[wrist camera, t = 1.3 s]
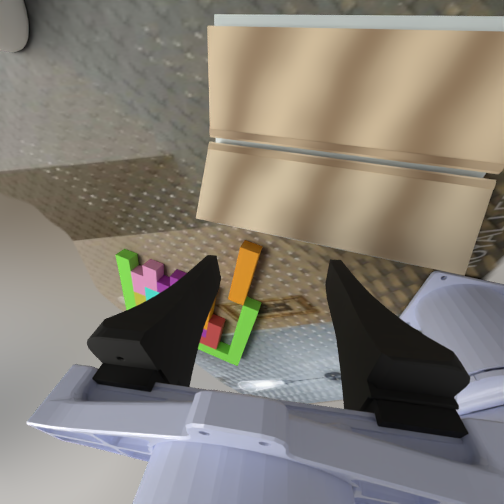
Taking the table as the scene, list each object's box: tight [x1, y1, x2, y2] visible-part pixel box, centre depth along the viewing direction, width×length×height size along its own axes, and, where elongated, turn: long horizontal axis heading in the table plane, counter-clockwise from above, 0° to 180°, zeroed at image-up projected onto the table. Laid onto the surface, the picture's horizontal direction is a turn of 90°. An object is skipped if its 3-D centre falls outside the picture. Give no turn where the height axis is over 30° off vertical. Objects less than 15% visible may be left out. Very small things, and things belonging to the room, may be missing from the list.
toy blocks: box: [116, 240, 263, 366], centre depth 33 cm, size 23×2×25 cm
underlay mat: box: [214, 14, 504, 267], centre depth 18 cm, size 22×17×1 cm
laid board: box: [207, 26, 504, 174], centre depth 15 cm, size 22×7×1 cm, turn 85°
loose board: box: [196, 142, 496, 276], centre depth 18 cm, size 22×7×1 cm, turn 85°
